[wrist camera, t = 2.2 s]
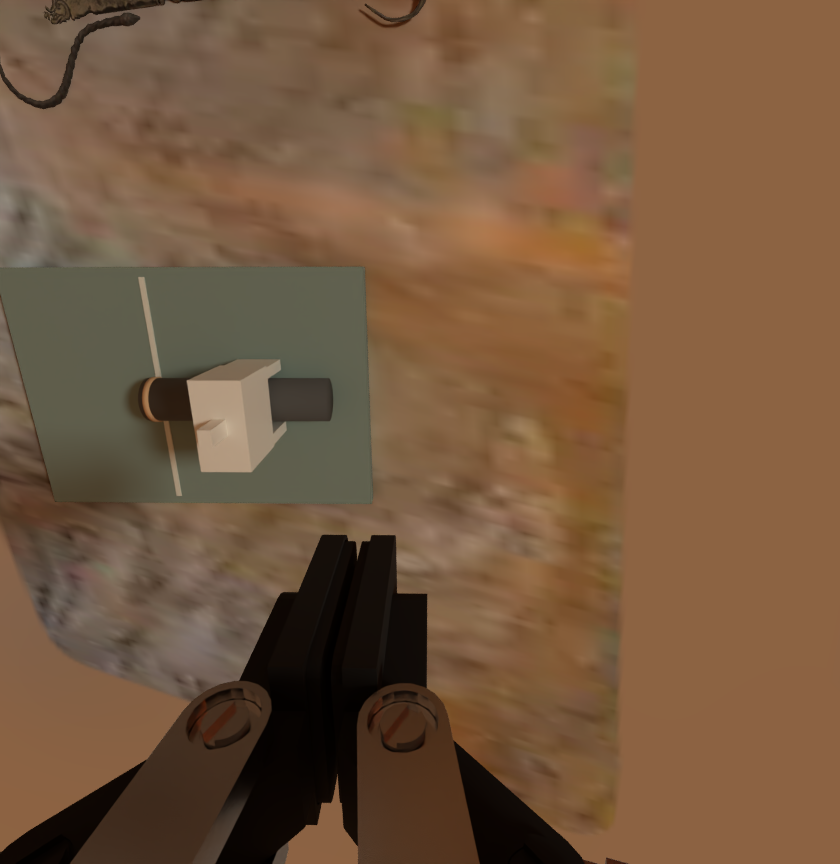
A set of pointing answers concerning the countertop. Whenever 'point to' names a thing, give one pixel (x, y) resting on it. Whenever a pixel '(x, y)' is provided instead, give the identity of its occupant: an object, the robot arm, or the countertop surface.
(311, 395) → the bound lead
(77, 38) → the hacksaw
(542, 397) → the countertop surface
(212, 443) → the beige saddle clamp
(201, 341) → the cutting mat
